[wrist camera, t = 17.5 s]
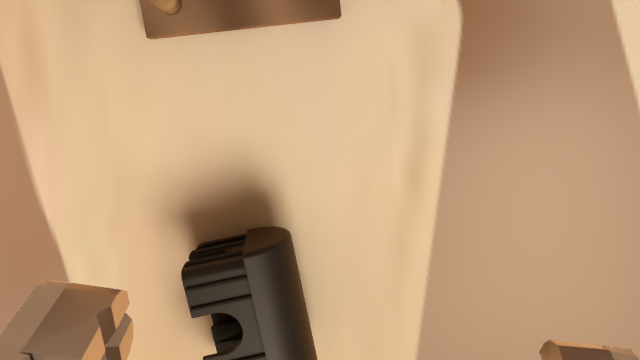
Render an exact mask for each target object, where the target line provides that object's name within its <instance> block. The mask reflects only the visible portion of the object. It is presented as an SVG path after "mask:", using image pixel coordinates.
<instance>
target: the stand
mask: <svg viewBox="0 0 640 360" xmlns="http://www.w3.org/2000/svg"><path fill="white" fill-rule="evenodd" d="M140 2H141V8H142V14H143V19H144V25H145V31H146V37H147V38H149V39H158V38H167V37H176V36H185V35H194V34H203V33H212V32H221V31H230V30H239V29H248V28H257V27H267V26H276V25H285V24H294V23H303V22H312V21H321V20H330V19H339V18H340V17H341V9H340V0H140Z"/></svg>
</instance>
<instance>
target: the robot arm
mask: <svg viewBox="0 0 640 360" xmlns="http://www.w3.org/2000/svg"><path fill="white" fill-rule="evenodd" d="M128 305H129V299H128V295H127V291H124V290H118V289H111V288H104V287H97V286H90V285H83V284H76V283H68V282H60V281H53V280H45V281H43V282H42V283H40V285H38V286H37V287H36V288H35V290H34V291H33V293H32V294H31V295H30V296H29V298H28V299H27V301H26V302H25V303H24V304H23V306H22V307H21V308H20V310H19V311H18V312H17V314H16V315H15V317H14V318H13V319H12V320H11V322H10V323H9V324H8V326H7V327H6V328H5V330H4V331H3V333H2V334H1V335H0V360H127V357H128V355H129V352H130V348H131V344H132V340H133V323H132V319H131V318H130V317H129V316H128V315H127V314H126V313H125V311H126V309H127V307H128ZM540 355H541V357H542V360H639V358H638V357H637V355H636V354H635V353H634V352H633V351H632V350H631V349H625V348H617V347H609V346H600V345H594V344H585V343H575V342H565V341H557V340H549V341H547V342H545V343H544V344H543V347H542V348H541V350H540Z"/></svg>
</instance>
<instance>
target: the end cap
mask: <svg viewBox="0 0 640 360" xmlns="http://www.w3.org/2000/svg"><path fill="white" fill-rule="evenodd" d="M181 274H182V282H183V286H184V290H185V293H186V297H187V301H188V305H189V309H190V313H191V317H192V318H196V317H200V316H205V315H209V314H211V316H212V320H213V324H214V325H212V327H211V330H212V334H213V338H214V342H215V346H216V350H217V353H216V354H212V355H207V356H204V357H203V360H317V356H316V351H315V346H314V341H313V337H312V332H311V327H310V322H309V318H308V313H307V308H306V304H305V299H304V294H303V289H302V285H301V280H300V275H299V270H298V266H297V261H296V256H295V252H294V247H293V242H292V237H291V234H290V232H289V231H288V230H286V229H284V228H281V227H260V228H253V229H248V230H247V234H242V235H237V236H232V237H228V238H223V239H218V240H213V241H209V242H204V243H201V244H199V246H198V247H197V249H196V250H193V251H192V252H191V253H190V255H189V261H187V262H186V263H185V265H184V267H183V269H182V273H181Z"/></svg>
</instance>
